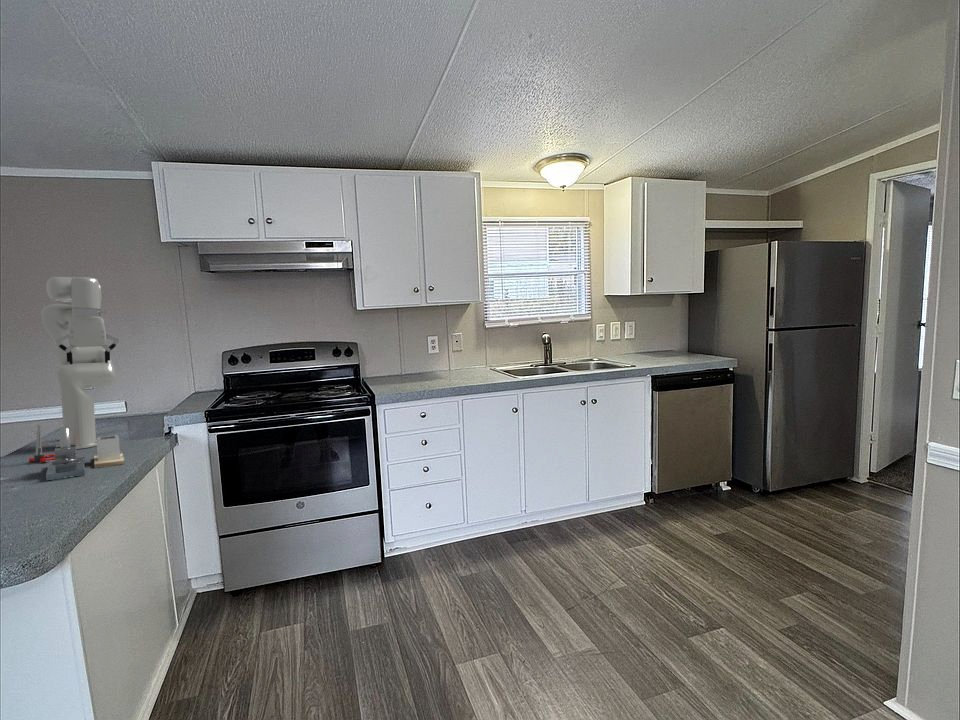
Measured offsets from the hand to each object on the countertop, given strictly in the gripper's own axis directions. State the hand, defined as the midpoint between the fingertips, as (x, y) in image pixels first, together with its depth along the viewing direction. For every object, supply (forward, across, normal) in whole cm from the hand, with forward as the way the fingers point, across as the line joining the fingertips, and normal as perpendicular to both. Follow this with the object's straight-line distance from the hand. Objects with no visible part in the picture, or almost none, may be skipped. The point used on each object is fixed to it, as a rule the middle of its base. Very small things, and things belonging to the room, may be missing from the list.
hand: (89, 363), depth 172 cm
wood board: (+33, -4, +8) cm, 34 cm away
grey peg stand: (+33, +7, +14) cm, 37 cm away
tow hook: (+34, +12, -7) cm, 36 cm away
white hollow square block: (+32, -4, +8) cm, 33 cm away
